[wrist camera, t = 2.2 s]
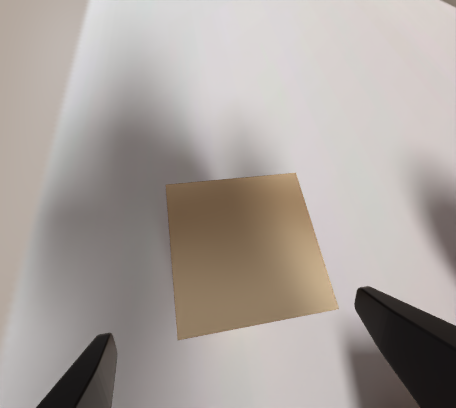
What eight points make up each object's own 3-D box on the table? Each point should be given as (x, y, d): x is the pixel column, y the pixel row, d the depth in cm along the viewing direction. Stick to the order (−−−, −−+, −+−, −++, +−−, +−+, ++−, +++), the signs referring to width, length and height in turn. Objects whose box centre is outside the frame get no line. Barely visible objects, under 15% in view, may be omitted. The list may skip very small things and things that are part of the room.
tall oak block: (253, 314, 18) (338, 308, 7) (190, 326, 17) (177, 340, 6) (241, 253, 20) (295, 172, 9) (183, 261, 19) (165, 184, 8)
